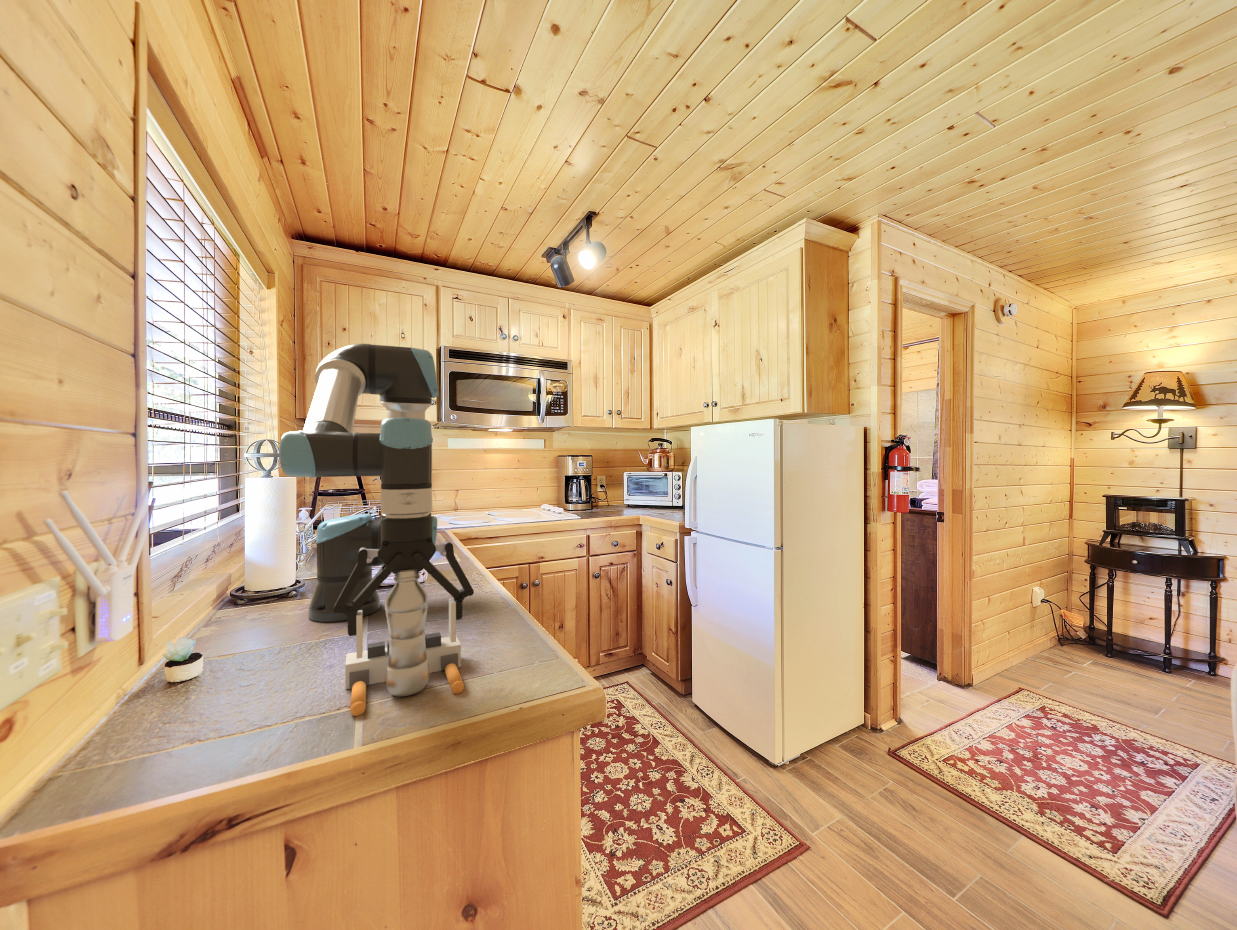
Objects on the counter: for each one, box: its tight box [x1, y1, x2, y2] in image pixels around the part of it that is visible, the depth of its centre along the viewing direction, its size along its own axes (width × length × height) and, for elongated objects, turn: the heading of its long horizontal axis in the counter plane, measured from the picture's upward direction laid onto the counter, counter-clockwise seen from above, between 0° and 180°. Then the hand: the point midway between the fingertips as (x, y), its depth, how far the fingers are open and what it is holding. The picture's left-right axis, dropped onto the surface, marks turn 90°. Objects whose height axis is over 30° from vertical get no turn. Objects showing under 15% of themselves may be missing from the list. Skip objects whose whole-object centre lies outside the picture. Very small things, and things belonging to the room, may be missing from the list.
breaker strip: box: [344, 632, 462, 690], centre depth 83 cm, size 6×18×6 cm, turn 117°
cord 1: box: [349, 681, 367, 717], centre depth 72 cm, size 9×2×2 cm, turn 27°
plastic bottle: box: [384, 568, 431, 697], centre depth 76 cm, size 6×7×20 cm
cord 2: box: [444, 663, 465, 695], centre depth 79 cm, size 9×2×2 cm, turn 28°
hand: (407, 647), depth 76 cm, fingers open, 13 cm apart
